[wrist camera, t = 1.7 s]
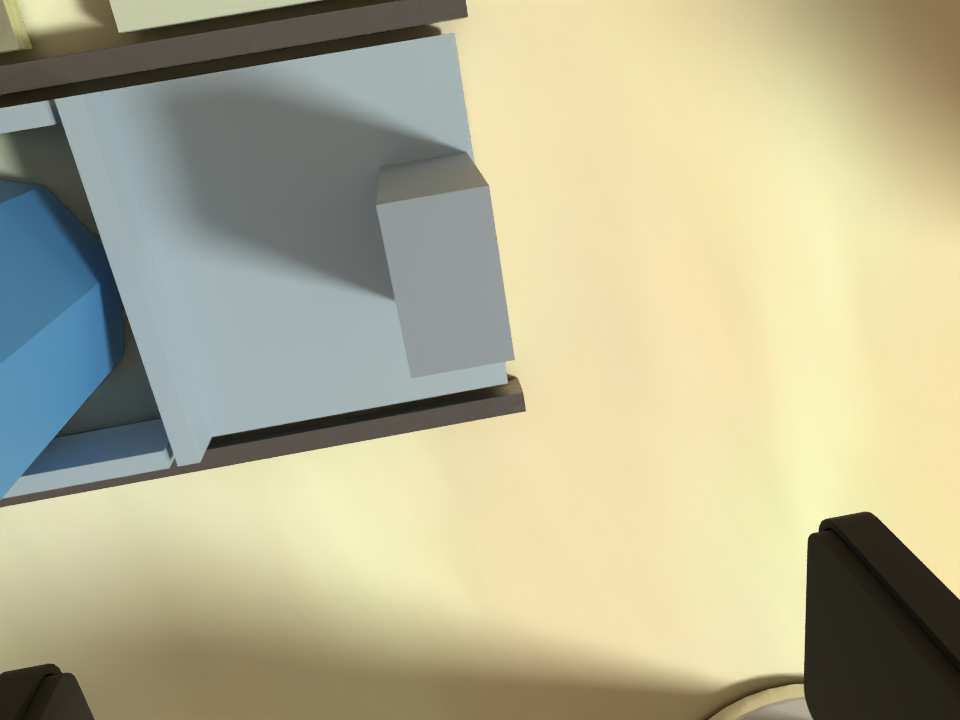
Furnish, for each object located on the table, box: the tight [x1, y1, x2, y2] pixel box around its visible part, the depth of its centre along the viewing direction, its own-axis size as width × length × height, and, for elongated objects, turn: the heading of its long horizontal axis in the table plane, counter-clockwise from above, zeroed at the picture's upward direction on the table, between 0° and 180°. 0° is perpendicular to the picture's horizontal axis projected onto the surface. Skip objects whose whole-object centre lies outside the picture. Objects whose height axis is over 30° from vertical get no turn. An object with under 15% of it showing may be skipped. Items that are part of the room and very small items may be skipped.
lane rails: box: [0, 0, 526, 507], centre depth 27 cm, size 26×23×2 cm
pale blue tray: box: [0, 33, 515, 499], centre depth 26 cm, size 24×13×8 cm, turn 98°
